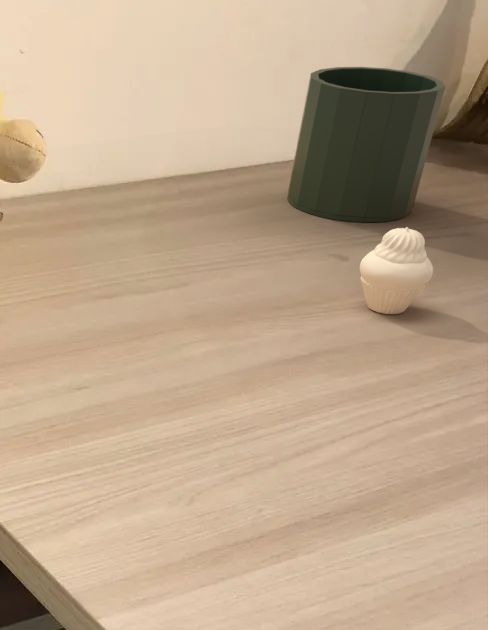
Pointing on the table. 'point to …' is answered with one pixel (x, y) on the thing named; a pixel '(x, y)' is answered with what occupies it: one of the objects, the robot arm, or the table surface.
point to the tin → (363, 143)
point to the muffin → (395, 271)
